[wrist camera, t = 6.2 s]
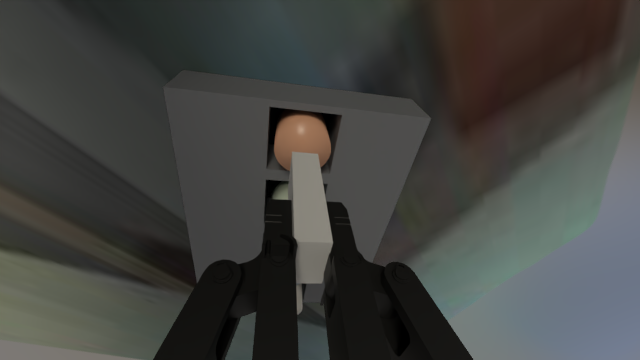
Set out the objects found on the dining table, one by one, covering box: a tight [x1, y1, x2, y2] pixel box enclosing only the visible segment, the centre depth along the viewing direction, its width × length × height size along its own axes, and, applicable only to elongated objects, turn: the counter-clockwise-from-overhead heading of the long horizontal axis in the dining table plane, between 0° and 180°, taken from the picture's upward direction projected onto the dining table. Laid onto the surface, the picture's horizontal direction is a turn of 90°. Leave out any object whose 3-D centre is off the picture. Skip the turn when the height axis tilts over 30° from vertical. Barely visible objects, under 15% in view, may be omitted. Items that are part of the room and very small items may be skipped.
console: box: [163, 70, 431, 302], centre depth 27 cm, size 18×24×4 cm
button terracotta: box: [274, 109, 331, 171], centre depth 21 cm, size 4×4×4 cm
